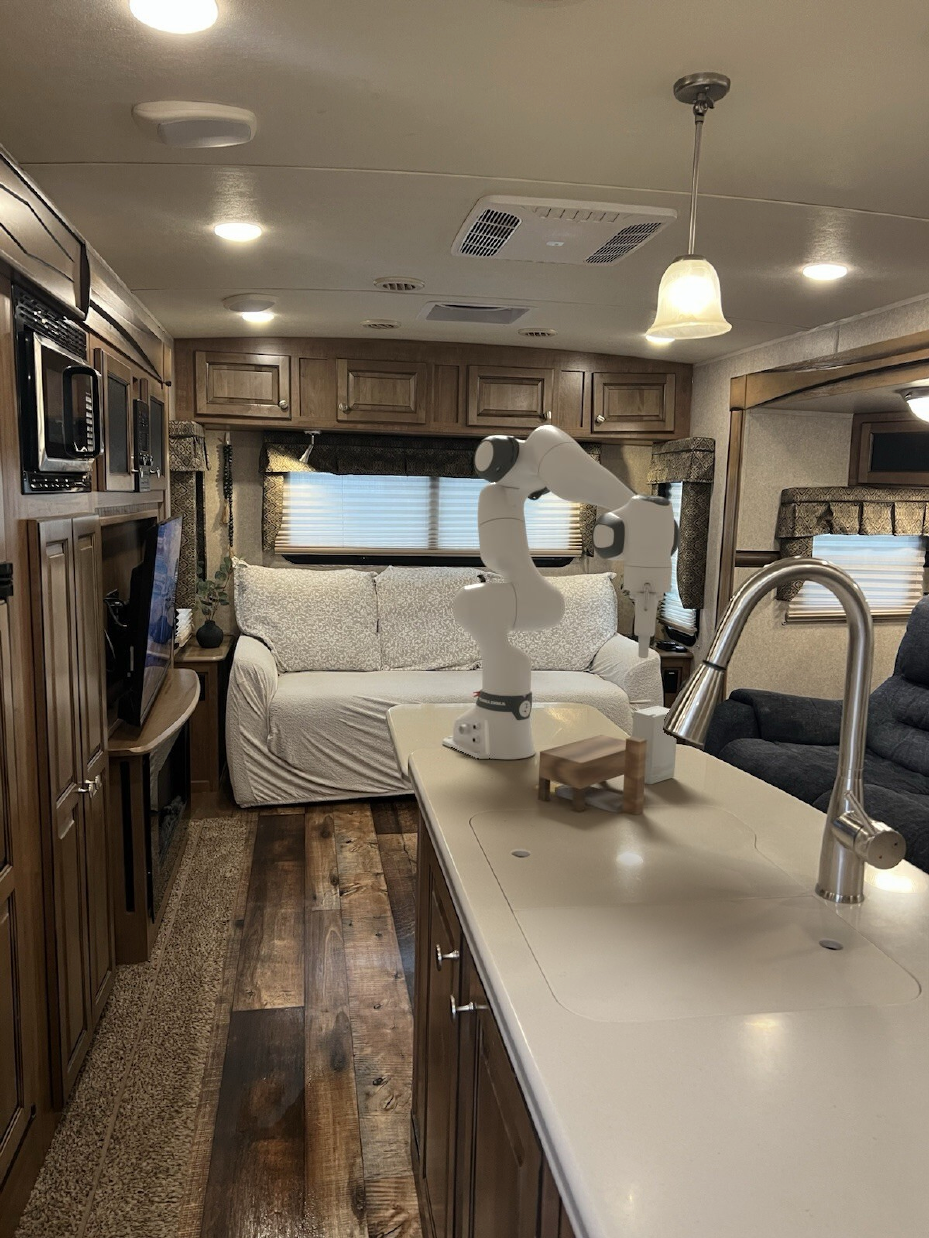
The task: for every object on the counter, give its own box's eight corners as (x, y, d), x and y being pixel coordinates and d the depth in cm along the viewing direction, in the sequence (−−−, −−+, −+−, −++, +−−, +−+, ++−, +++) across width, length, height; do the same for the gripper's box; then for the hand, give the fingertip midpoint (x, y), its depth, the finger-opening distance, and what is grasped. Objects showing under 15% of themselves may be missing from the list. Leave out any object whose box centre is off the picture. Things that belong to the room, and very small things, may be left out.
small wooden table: (537, 799, 178) (539, 751, 177) (599, 778, 192) (601, 734, 191) (579, 812, 171) (581, 762, 170) (639, 790, 185) (642, 744, 184)
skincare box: (653, 771, 199) (657, 704, 197) (675, 778, 194) (680, 710, 192) (627, 778, 194) (631, 709, 192) (650, 785, 189) (654, 715, 187)
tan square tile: (534, 791, 185) (534, 786, 185) (549, 786, 188) (549, 781, 188) (554, 797, 181) (555, 792, 181) (569, 791, 185) (569, 787, 185)
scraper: (647, 809, 174) (651, 737, 172) (630, 817, 170) (634, 743, 168) (572, 788, 186) (575, 720, 184) (554, 794, 181) (557, 725, 179)
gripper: (665, 586, 163) (660, 663, 165) (663, 578, 183) (659, 646, 184) (629, 585, 164) (625, 661, 166) (631, 576, 184) (628, 644, 186)
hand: (643, 653), depth 175 cm, fingers open, 8 cm apart
